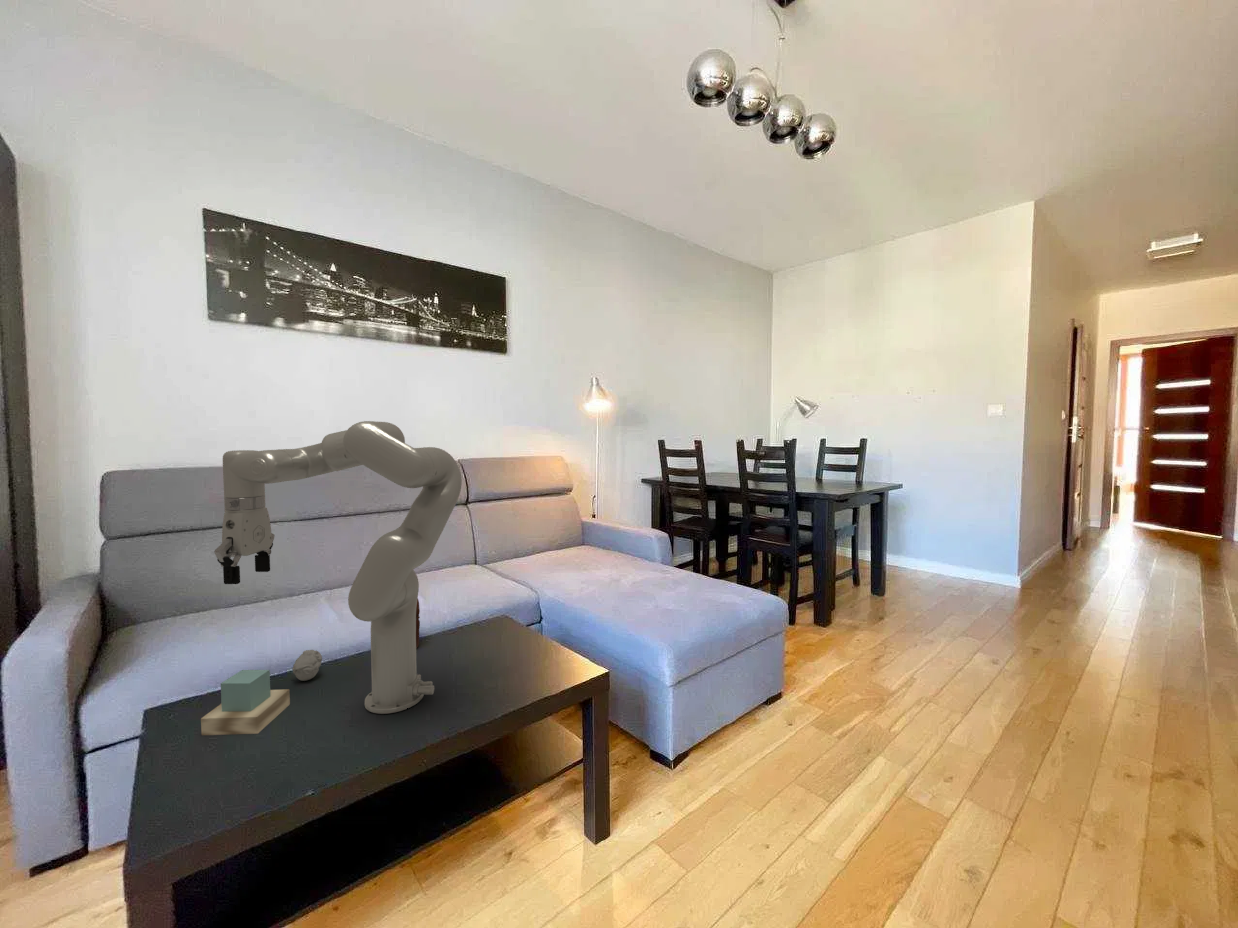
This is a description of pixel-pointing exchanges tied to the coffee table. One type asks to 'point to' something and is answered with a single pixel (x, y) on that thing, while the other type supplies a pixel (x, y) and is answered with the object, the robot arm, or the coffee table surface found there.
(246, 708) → the teal cube
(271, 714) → the birch block
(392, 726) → the coffee table surface
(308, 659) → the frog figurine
